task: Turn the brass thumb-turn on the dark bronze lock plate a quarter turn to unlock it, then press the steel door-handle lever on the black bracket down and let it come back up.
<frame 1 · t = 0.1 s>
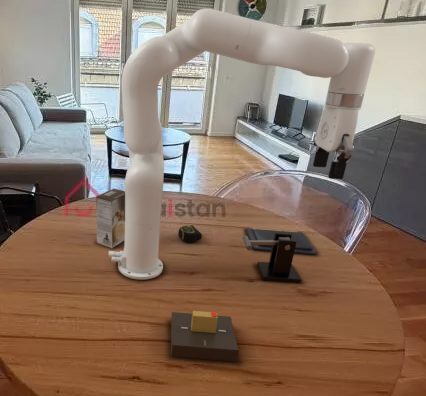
hand: (326, 172, 90), 31 cm above the table, tool pointing down, fingers open, 9 cm apart
door handle: (266, 242, 101), point 10 cm above the table, hinge at -4.5°
lock plate: (201, 341, 78), on the table
dark grey flat tray: (279, 242, 122), on the table
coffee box: (112, 241, 118), on the table
thumbturn: (204, 321, 76), point 5 cm above the table, hinge at 0.0°
tape measure: (189, 239, 122), on the table
handle bracket: (277, 273, 104), on the table
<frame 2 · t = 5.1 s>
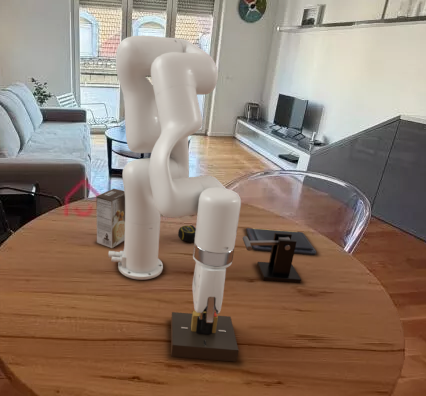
hand: (203, 328, 77), 3 cm above the table, tool pointing down, fingers closed on thumbturn
door handle: (266, 242, 101), point 10 cm above the table, hinge at -5.5°
thumbturn: (204, 321, 76), point 5 cm above the table, hinge at 0.0°, touching gripper
everything else where it was.
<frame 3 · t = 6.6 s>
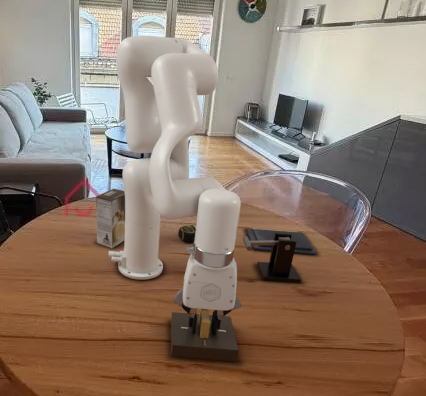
hand: (203, 329, 77), 3 cm above the table, tool pointing down, fingers open, 3 cm apart
thumbturn: (204, 321, 76), point 5 cm above the table, hinge at 89.8°
everything else where it was.
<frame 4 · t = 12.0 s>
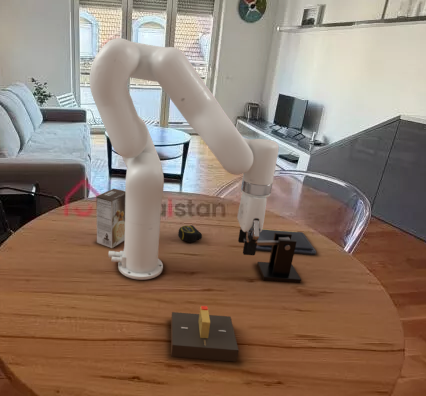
hand: (246, 247, 102), 8 cm above the table, tool pointing down, fingers closed on door handle, 6 cm apart
door handle: (266, 242, 101), point 10 cm above the table, hinge at -5.5°, touching gripper
everything else where it was.
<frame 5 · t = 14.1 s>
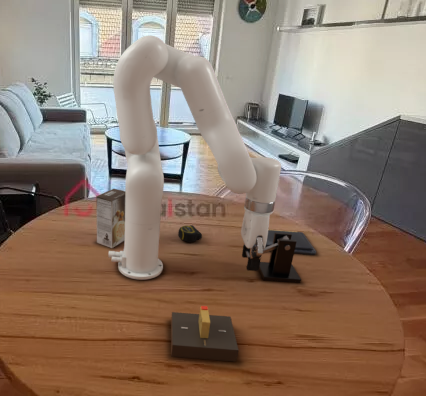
hand: (249, 262, 103), 3 cm above the table, tool pointing down, fingers closed on door handle, 6 cm apart
door handle: (268, 249, 101), point 8 cm above the table, hinge at -30.5°, touching gripper
everything else where it was.
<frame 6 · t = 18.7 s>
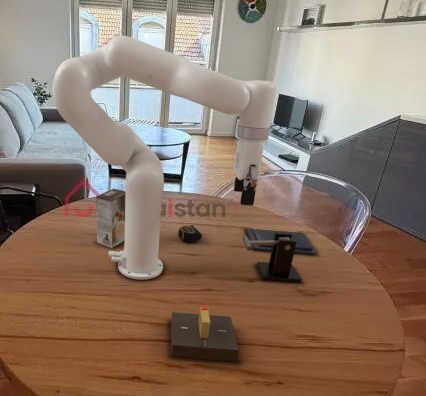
hand: (242, 197, 96), 22 cm above the table, tool pointing down, fingers open, 9 cm apart
door handle: (266, 242, 101), point 10 cm above the table, hinge at -5.5°
everything else where it was.
at the end: thumbturn at +90° (first picture: +0°); door handle reached -30° during the clip, -6° at the end; door handle at -6° (first picture: -4°) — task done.
